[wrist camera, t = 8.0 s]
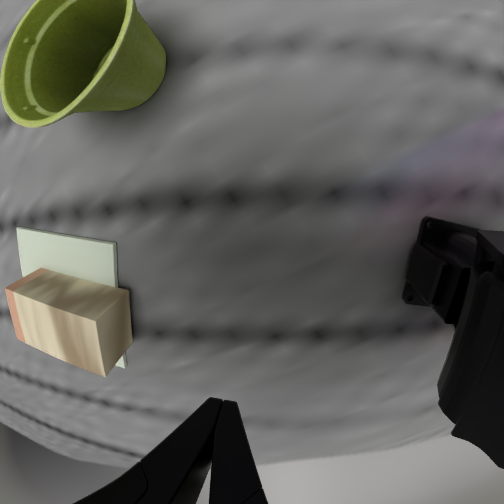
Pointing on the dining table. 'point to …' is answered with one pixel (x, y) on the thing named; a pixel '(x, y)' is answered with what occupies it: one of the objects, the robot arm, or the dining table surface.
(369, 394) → the dining table surface
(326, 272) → the dining table surface
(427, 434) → the dining table surface
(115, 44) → the plant pot
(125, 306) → the birch block
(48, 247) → the sage mat
